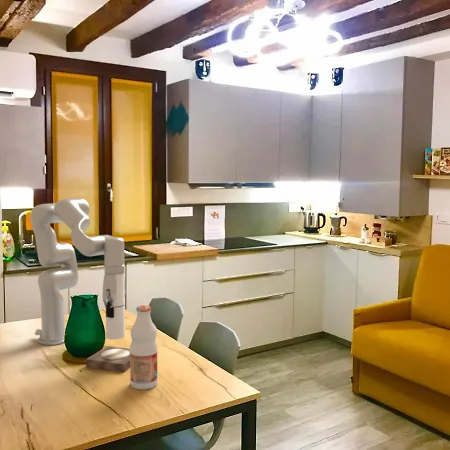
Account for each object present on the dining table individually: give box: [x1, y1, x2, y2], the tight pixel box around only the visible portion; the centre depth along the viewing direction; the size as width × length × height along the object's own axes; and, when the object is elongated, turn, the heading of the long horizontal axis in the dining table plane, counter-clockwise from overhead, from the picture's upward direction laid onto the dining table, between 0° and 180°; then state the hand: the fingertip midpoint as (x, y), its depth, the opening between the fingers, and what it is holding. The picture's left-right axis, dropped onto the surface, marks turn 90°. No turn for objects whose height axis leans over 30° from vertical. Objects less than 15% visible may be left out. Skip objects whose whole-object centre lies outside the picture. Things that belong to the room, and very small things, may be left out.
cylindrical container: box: [105, 273, 126, 340], centre depth 204 cm, size 7×7×25 cm
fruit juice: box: [129, 304, 158, 391], centre depth 184 cm, size 9×9×28 cm
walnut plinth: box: [85, 345, 130, 373], centre depth 207 cm, size 16×16×3 cm
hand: (115, 314), depth 205 cm, fingers closed on cylindrical container, 7 cm apart
